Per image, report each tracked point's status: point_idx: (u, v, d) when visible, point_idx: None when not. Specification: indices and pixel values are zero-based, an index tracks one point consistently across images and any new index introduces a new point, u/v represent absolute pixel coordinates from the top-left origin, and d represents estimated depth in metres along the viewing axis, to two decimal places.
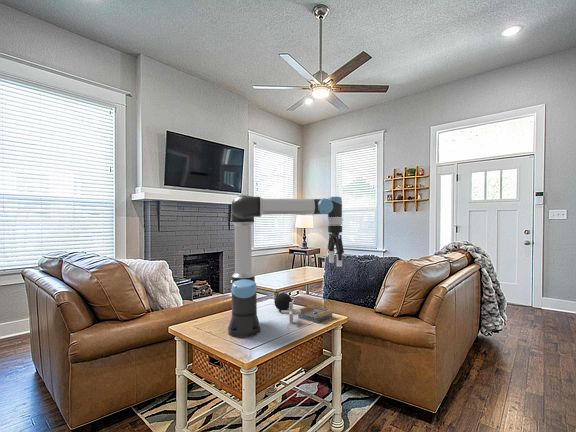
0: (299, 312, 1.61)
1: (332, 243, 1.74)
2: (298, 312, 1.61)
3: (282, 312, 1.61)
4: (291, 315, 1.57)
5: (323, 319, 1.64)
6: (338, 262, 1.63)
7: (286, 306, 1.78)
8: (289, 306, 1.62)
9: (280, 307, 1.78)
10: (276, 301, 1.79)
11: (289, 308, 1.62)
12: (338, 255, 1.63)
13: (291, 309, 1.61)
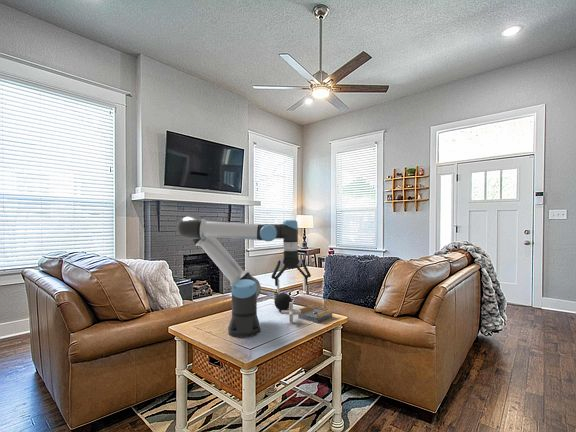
0: (299, 312, 1.61)
1: None
2: (298, 312, 1.61)
3: (282, 312, 1.61)
4: (291, 315, 1.57)
5: (323, 319, 1.64)
6: (277, 287, 1.61)
7: (286, 306, 1.78)
8: (289, 306, 1.62)
9: (280, 307, 1.78)
10: (276, 301, 1.79)
11: (289, 308, 1.62)
12: None
13: (291, 309, 1.61)
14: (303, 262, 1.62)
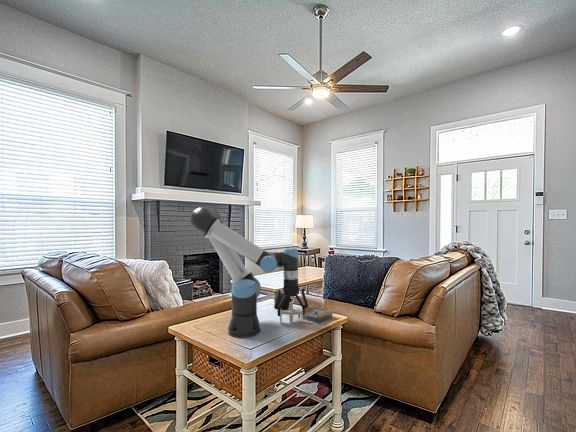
0: (299, 312, 1.61)
1: None
2: (298, 312, 1.61)
3: (282, 312, 1.61)
4: (291, 315, 1.57)
5: (323, 319, 1.64)
6: None
7: (286, 306, 1.78)
8: (289, 306, 1.62)
9: None
10: None
11: (289, 308, 1.62)
12: None
13: (291, 309, 1.61)
14: (303, 291, 1.62)
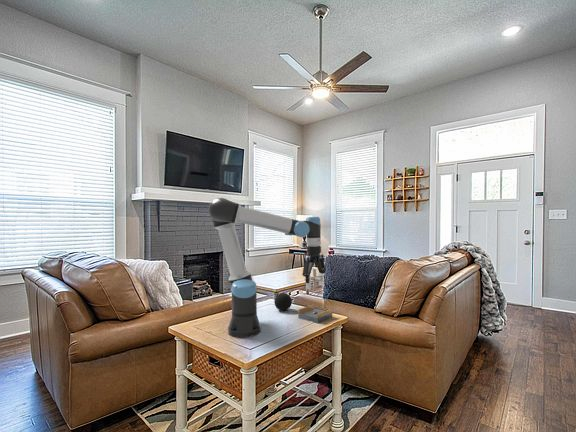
0: (321, 276, 1.71)
1: (317, 264, 1.71)
2: (320, 277, 1.70)
3: None
4: (321, 279, 1.65)
5: (323, 319, 1.64)
6: (307, 284, 1.65)
7: (286, 306, 1.78)
8: (313, 272, 1.68)
9: (280, 307, 1.78)
10: (276, 301, 1.79)
11: (313, 274, 1.68)
12: None
13: None
14: (322, 257, 1.73)
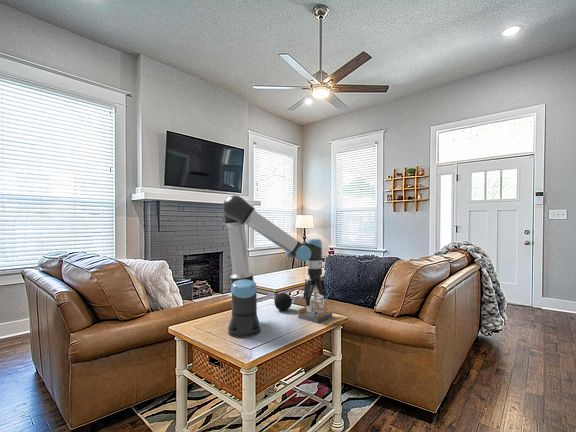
0: (322, 299, 1.71)
1: (317, 286, 1.72)
2: (321, 299, 1.71)
3: None
4: (322, 302, 1.65)
5: (323, 319, 1.64)
6: (307, 307, 1.65)
7: (286, 306, 1.78)
8: (314, 295, 1.68)
9: (280, 307, 1.78)
10: (276, 301, 1.79)
11: (314, 296, 1.68)
12: None
13: (316, 297, 1.69)
14: (323, 279, 1.73)
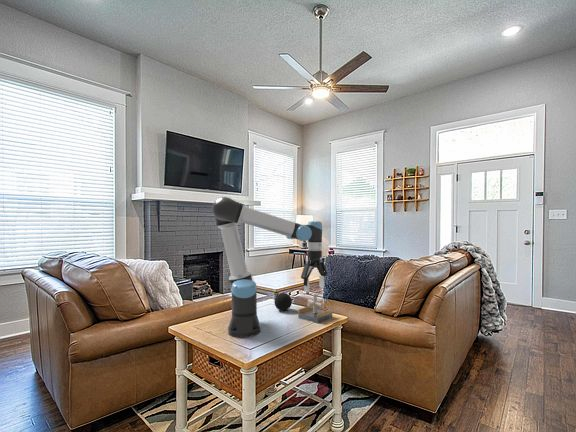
0: (321, 301, 1.71)
1: (318, 268, 1.72)
2: (321, 301, 1.71)
3: (310, 304, 1.66)
4: (321, 305, 1.65)
5: (323, 319, 1.64)
6: (305, 287, 1.64)
7: (286, 306, 1.78)
8: (314, 297, 1.68)
9: (280, 307, 1.78)
10: (276, 301, 1.79)
11: (314, 299, 1.68)
12: None
13: (316, 300, 1.68)
14: (323, 261, 1.73)
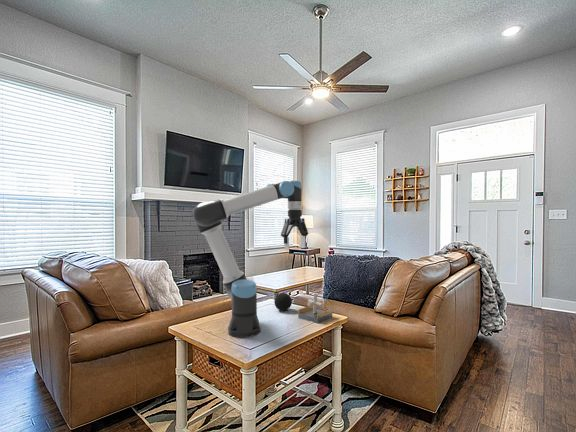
0: (322, 301, 1.71)
1: (298, 227, 1.74)
2: (321, 301, 1.71)
3: (310, 304, 1.66)
4: (322, 304, 1.65)
5: (323, 319, 1.64)
6: (285, 245, 1.67)
7: (286, 306, 1.78)
8: (314, 297, 1.68)
9: (280, 307, 1.78)
10: (276, 301, 1.79)
11: (314, 299, 1.68)
12: None
13: (316, 299, 1.69)
14: (303, 221, 1.75)
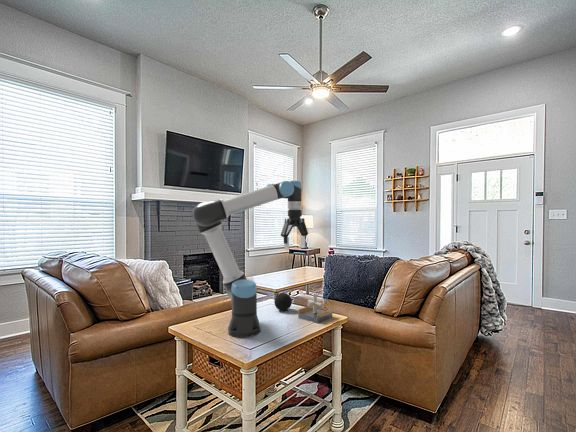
0: (321, 301, 1.71)
1: (298, 227, 1.75)
2: (321, 301, 1.71)
3: (310, 304, 1.66)
4: (321, 304, 1.65)
5: (323, 319, 1.64)
6: (285, 245, 1.67)
7: (286, 306, 1.78)
8: (314, 297, 1.68)
9: (280, 307, 1.78)
10: (276, 301, 1.79)
11: (314, 299, 1.68)
12: None
13: (316, 299, 1.68)
14: (303, 221, 1.76)
